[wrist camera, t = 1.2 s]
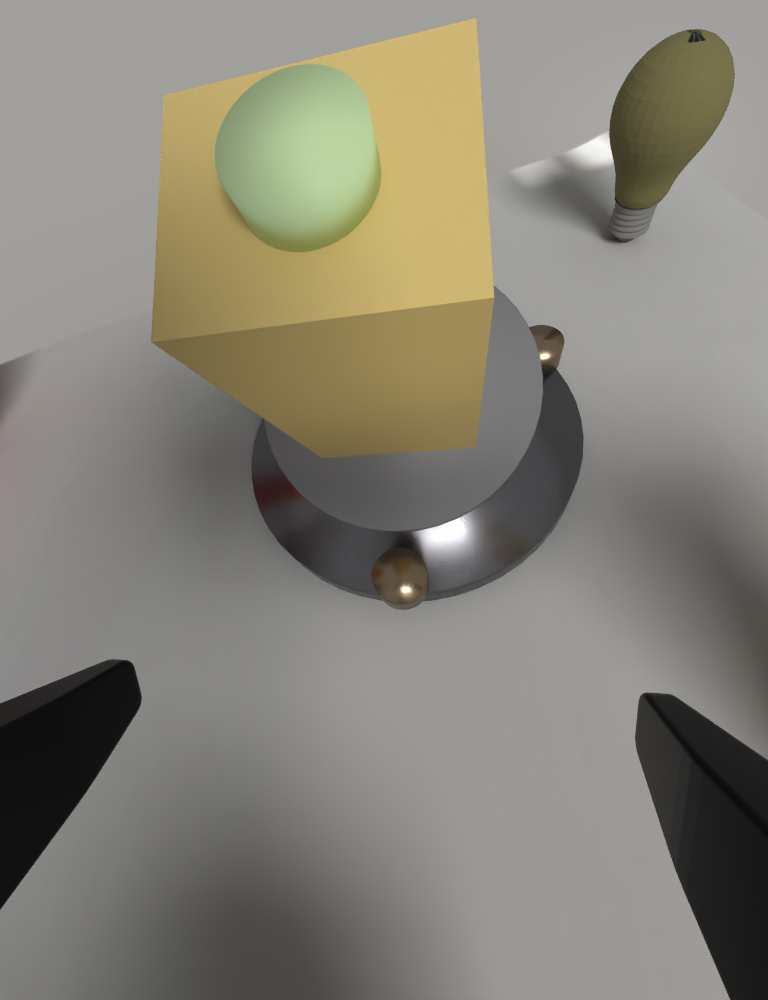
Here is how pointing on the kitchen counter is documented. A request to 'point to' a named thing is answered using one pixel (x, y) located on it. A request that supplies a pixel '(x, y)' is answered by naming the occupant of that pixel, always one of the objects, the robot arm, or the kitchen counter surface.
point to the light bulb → (665, 121)
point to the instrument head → (350, 276)
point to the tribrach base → (454, 545)
